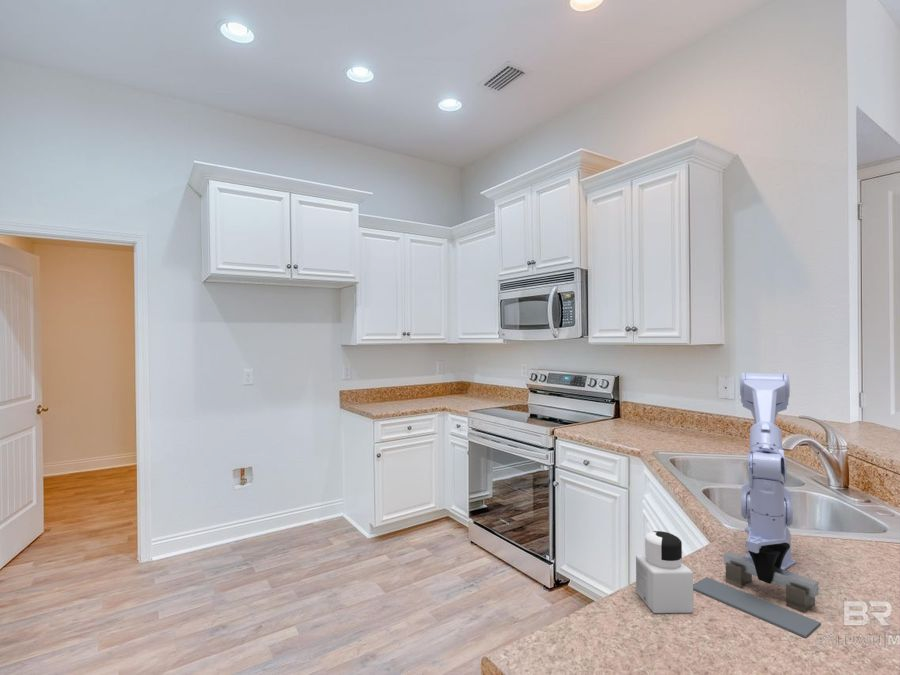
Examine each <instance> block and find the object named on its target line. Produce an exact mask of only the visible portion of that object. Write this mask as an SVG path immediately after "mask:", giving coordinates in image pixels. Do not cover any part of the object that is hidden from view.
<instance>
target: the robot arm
mask: <svg viewBox="0 0 900 675" xmlns="http://www.w3.org/2000/svg"><path fill="white" fill-rule="evenodd" d="M790 392H791V390H790V376H789V375H788V374H787V373H786V372H785V373H784V372H783V373H769V372H768V373H763V372H762V373H761V372H758V373H757V372H743V371H742V372H741V373H740V375H739V394H740V395H739V396H740V402H741V404H742V407H743V408H745V409H747V410H750V411H751V415H752V417H753V422H754V424H752V425H751V427H750V428H749V452H748V453H747V456H746V457H747V461H746V462H747V466H746V467H747V475H748V476H747V477H748V481H747V482H745V483H743V485H742V486H741V493H740V495H741V496H740V498H741V499H740V510H741V511H740V514H741V515H740V516H741V517H742V518H743V519H745V520H747V522H746V523H747V526H745V527H744V532H745V533H747V538H746V539H745V550H746V551H747V554H745V555H744V556H745V557H748V558H751V559H752V560H753V562H754V565H755V569H756V573H757V576H758V577H757V576H756V577H757V580H758V581H761V582H764V583H766V584H769V585H770V584H772V583H773V582H772V579H773V572H774V567H777V568H780V569H783V570H786V569H789V567H790V568H791V566H793V565H794V564H795V563H796V562H797V560H796V559H793V558H792V541H791V540H792V536H791V534H792V533H791V531H790V530H789V527H791V526H792V525H793V521H794V520H793V518H794V516H793V514H794V512H793V501H792V494H791V493H790V490H789V489H788V488H786V487H785V484H786V482H787V475H788V474H787V473H788V470H787V468H788V467H787V459H786V456H785V450H784V449H783V435H782V430H781V428H780V427H779V426H778V425H776V418H777V415H778V414H779V412H783V411H786V410H787V409H788V405H789V400H790ZM782 476H783V481H782Z"/></svg>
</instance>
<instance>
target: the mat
mask: <svg viewBox="0 0 900 675" xmlns="http://www.w3.org/2000/svg"><path fill="white" fill-rule="evenodd" d="M693 591H695V592H697V593H700V594H702V595H704V596H707V597H709V598H711V599H714V600H715V601H718V602H721V603H722V604H725V605H728V606H730V607H732V608H735V609H737V610H739V611H741V612H743V613H746V614H748V615H750V616H753V617H756V618H758V619H760V620H762V621H765V622H767V623H769V624H771V625H774V626H776V627H779V628H781V629H783V630H786V631H788V632H790V633H792V634H794V635H797V636H799V637H801V638H804V639H807V638H808V637H809V636H810V635H812V634H813V633H814V632H815V631H816V630H817V629H818V628H819V627H820V626H822V625H821V624H822V623H821V622H820V621H818V620H816V619H813V618H811V617H808V616H805V615H804V614H801V613H798V612H796V611H793V610H790V609H788V608H786V607H783V606H780V605H778V604H776V603H773V602H770V601H768V600H766V599H763V598H760V597H757V596H755V595H753V594H750V593H748V592H746V591H743V590H741V589H737V588H736V587H733V586H730V585H728V584H725V583H722V582H720V581H718V580H715V579H713V578H710V577H708V576H706V577H703V578H702V579H700V580H698V581H696V582H693Z"/></svg>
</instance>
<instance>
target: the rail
mask: <svg viewBox="0 0 900 675" xmlns="http://www.w3.org/2000/svg"><path fill="white" fill-rule="evenodd" d="M726 562H727V563H730V564H733V565H735V566H738V567H741V568H742V571H743V572H746V573H749V574H752V576H755V577H757V578H758V576H757V573H756V569H755V565H754V562H753V560H752V559H751V558H748V557H745V555H742V554H738V553H736V552H734V551H733V552H732V551H730V550H728V551H727V552H724V553H723V565H725V566H726ZM771 583H774V584H776V585H779V586H782V587H785V588H786V584H788V585H791V586H794V587H797V588H799V589H802V590H805V591H806V595H809V596H812V597H815V598H816V596H817V595H818V594H819V592H820V591H819V589H820V588H819V585H820V584H819V581H818V580H816V579H811V578H809V577H806V576H803V575H800V574H797V573H794V572H791V571H789V570H786V569H785V570H783V569H780V568H777V567H774V572H773V579H772V582H771Z"/></svg>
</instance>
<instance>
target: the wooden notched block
mask: <svg viewBox="0 0 900 675" xmlns="http://www.w3.org/2000/svg"><path fill="white" fill-rule="evenodd" d="M751 582H753V575H752V574H749V573H746V572H743V571H742V568H741V567H738V566H735V565H733V564H730V563H727V562H726V565H725V583H727V584H730V585H733V586H735V587H737V588H740V589H742V588H744V587H745V586H747V585H748V584H750V583H751Z"/></svg>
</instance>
